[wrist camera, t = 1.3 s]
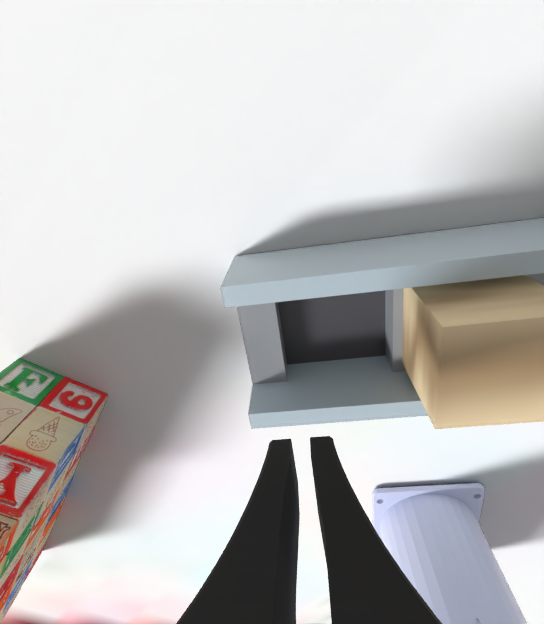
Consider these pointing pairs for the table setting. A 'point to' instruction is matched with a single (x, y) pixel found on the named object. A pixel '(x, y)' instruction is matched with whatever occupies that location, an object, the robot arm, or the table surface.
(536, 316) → the maple block
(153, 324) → the table surface
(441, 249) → the pale green block
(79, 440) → the stack of blocks
